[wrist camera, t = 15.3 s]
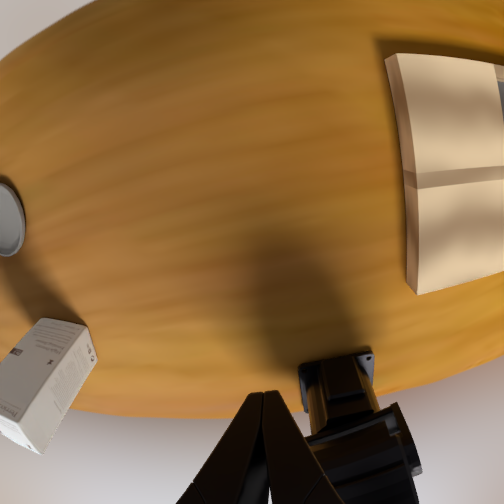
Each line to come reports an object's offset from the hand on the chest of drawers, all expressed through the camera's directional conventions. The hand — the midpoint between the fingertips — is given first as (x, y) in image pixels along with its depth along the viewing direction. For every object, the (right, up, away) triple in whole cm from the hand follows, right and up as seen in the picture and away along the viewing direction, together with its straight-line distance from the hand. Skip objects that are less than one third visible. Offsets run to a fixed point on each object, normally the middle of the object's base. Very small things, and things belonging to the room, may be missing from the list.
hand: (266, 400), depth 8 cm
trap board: (+21, +11, +9) cm, 26 cm away
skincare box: (-18, -4, +17) cm, 25 cm away
